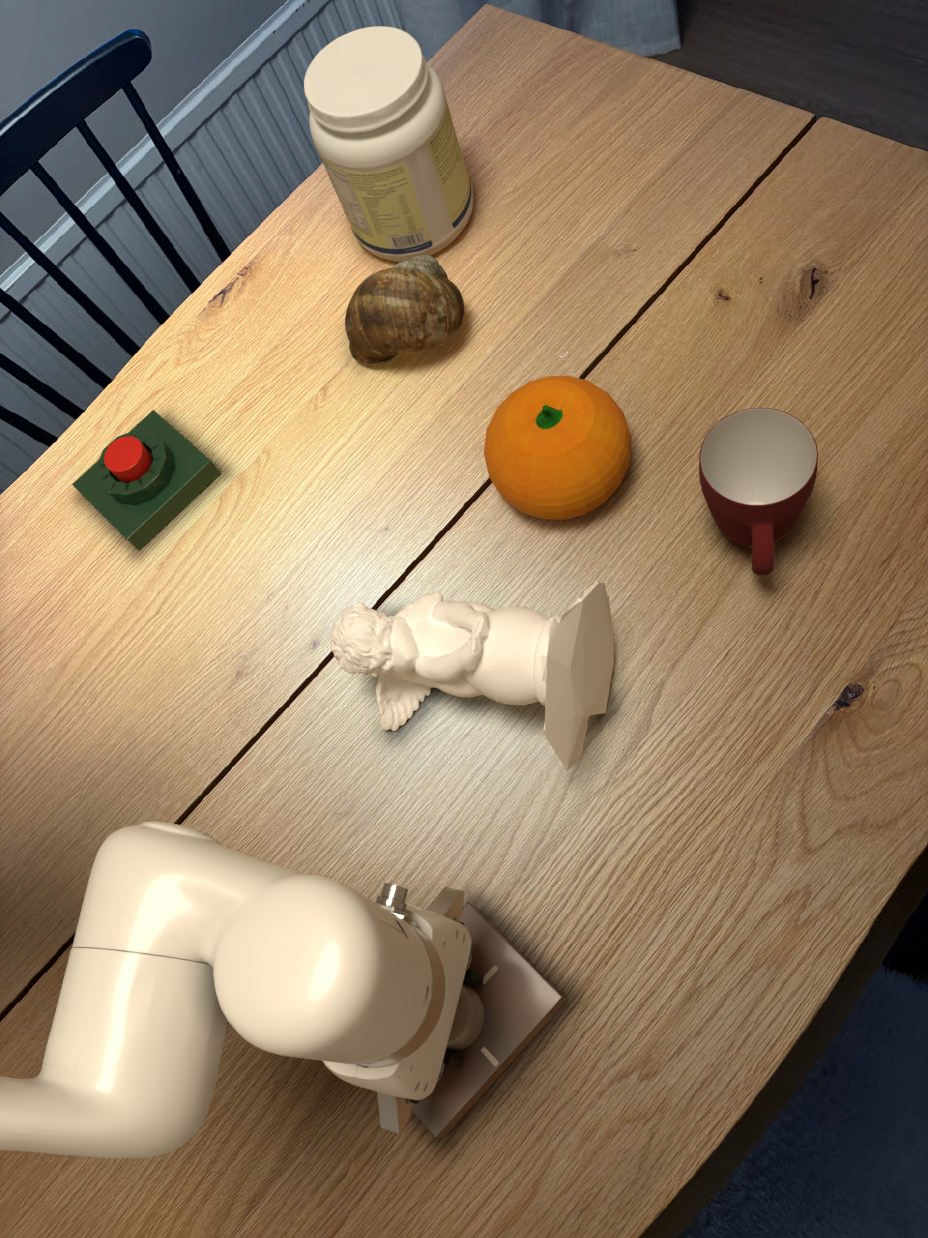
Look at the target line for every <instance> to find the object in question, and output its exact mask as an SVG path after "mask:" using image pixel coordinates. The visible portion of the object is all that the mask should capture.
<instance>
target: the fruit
mask: <svg viewBox="0 0 928 1238" xmlns="http://www.w3.org/2000/svg"><path fill="white" fill-rule="evenodd" d="M613 398H614V397H612V396H611V394H610V393H609V392H607V391H606V390H604V389H603V388H601V387H599V386H597V385H596V384H594V383H593V382H592V381H589V380H587V379H583V378H579V377H575V376H572V375H549V376H548V375H546V376H544V377H540V378H536V379H533V380H530V381H528V382H526V383H524V384H523V385H521V386H519V387H518V388H516V389H515V390H513V391H512V392H511V393H509V395H508V396H507V397H505V398H504V400H503V401H502V402H501V403H500V404H499V405H498V406H497V407H496V409H495V411H494V413H493V414H492V417H491V419H490V422H489V424H488V425H487V427H486V431H485V439H484V447H483V457H484V462H485V465H486V469H487V473H488V477H489V479H490V481H491V483H492V484H493V486H494V487H495V489H496V490H497V492H498V493H499V494H500V496H501V497H502V499H503V500H504V501H505V502H507V503H508V504H509V505H510V506H513V507H514V508H515V509H517V510H518V511H520V513H522V514H525V515H528V516H531V517H535V518H538V519H542V520H569V519H573V518H576V517H579V516H582V515H586V514H588V513H590V512H591V511H593V510H594V509H597V507H600V506H601V505H603V504H604V503H606V502H607V501H608V499H610V497H611V496H612V495H613V494H614V493H615V492H616V490H617V489H618V488H620V486H621V484H622V482H623V479H624V477H625V475H626V473H627V470H628V468H629V466H630V463H631V450H632V435H631V432H630V428H629V425H628V422H627V419H626V416H625V413H624V411H623V410H622V409H621V406H620V405H618V403H617V402H616V400H615V399H613Z"/></svg>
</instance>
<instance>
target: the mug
mask: <svg viewBox="0 0 928 1238" xmlns="http://www.w3.org/2000/svg"><path fill="white" fill-rule="evenodd" d="M817 445H818V444H817V442H816V440H815V437H814V435H813V434H812V432H811V430H810V429H809V427H807V425H805V423H804V422H802V421H801V420H800V419H798V418H797V417H796V416H794V415H792V414H790V413H788V412H785V411H783V410H780V409H775V408H770V407H751V408H750V407H749V408H745V409H740V410H738V411H735V412H732V413H730V414H728V415H726V416H724V417H723V418H721V419H720V420H719V421H718V422H716V423H715V424H714V425H712V427H711V428H710V429H709V430H708V431H707V433H706V435H705V437H704V438H703V441H702V442H701V446H700V449H699V454H698V475H699V476H698V477H699V484H700V489H701V492H702V495H703V498H704V500H705V503H706V505H707V507H708V510H709V512H710V515H711V517H712V520H713V521H714V523H715V526H717V528H718V529H719V530H720V532H721V533H722V534H723V535H724V536H726V537H727V538H728V539H729V540H731V541H733V542H735V543H737V544H739V545H741V546H746V547H749V548H751V571H752V573H753V574H754V575H756V576H763V577H764V576H769V575H771V574H772V573H773V572H774V569H775V543H776V542H778V541H779V540H781V539H783V538H785V536H787V535H788V534H789V532H791V530H793V529H794V527H795V526H796V524H797V522H798V521H799V519H800V517H801V515H802V513H803V511H804V509H805V508H806V505H807V504H808V502H809V500H810V497H811V495H812V493H813V491H814V488H815V485H816V480H817V474H818V463H819V452H818V451H819V450H818V446H817Z"/></svg>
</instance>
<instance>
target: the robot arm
mask: <svg viewBox="0 0 928 1238" xmlns="http://www.w3.org/2000/svg"><path fill="white" fill-rule="evenodd" d="M408 893H409V889H408V888H406V887H402V886H400V885H397V884H393V883H389V882H384V884H383V888H382V890H381V893H380V895H378V896H377V899H376V901H374V900H372V899H370V898H368V897H367V896H365V895H363V894H362V893H360V892H358V891H356V890H355V889H353V888H351V887H350V886H348V885H346V884H344V883H342V882H340V881H338V880H335V879H332V878H331V877H327V876H324V875H318V874H309V873H304V872H301V871H298V870H295V869H292V868H289V867H286V866H283V865H280V864H277V863H274V862H272V861H268V860H265V859H263V858H259V857H257V856H254V855H250V854H248V853H245V852H242V851H239V850H236V849H234V848H231V847H229V846H226V845H224V844H223V843H222V842H221V841H220V840H219V839H217V838H216V837H213V836H212V835H210V834H207V833H206V832H202V831H200V830H198V829H195V828H191V827H189V826H185V825H181V824H176V823H173V822H168V821H161V820H159V821H157V820H151V821H149V820H148V821H144V822H142V823H141V824H134V825H127V826H123V827H121V828H119V829H116V830H115V831H113V832H111V834H109V835H108V836H107V837H106V839H104V841H103V842H102V844H101V845H100V847H99V848H98V851H97V853H96V855H95V859H94V861H93V864H92V867H91V870H90V874H89V878H88V882H87V885H86V890H85V893H84V897H83V901H82V902H83V903H82V906H81V909H80V914H79V917H78V923H77V926H76V929H75V930H76V931H75V934H74V937H73V942H72V947H71V948H70V951H69V956H68V959H67V965H66V967H65V971H64V976H63V980H62V984H61V986H60V987H61V988H60V992H59V996H58V1000H57V1004H56V1009H55V1013H54V1016H53V1020H52V1023H51V1028H50V1032H49V1035H48V1040H47V1043H46V1047H45V1052H44V1055H43V1056H44V1057H43V1060H42V1065H41V1069H40V1072H39V1074H38V1075H37V1076H35V1077H31V1078H17V1077H11V1076H10V1077H9V1076H2V1075H0V1151H12V1152H26V1153H38V1154H50V1155H51V1154H52V1155H59V1156H73V1157H85V1158H97V1159H99V1158H100V1159H113V1160H114V1159H115V1160H116V1159H117V1160H119V1159H146V1158H152V1157H153V1158H154V1157H158V1156H162V1155H165V1154H166V1155H167V1154H169V1153H172V1152H174V1151H176V1150H178V1149H179V1148H181V1147H182V1146H184V1145H185V1144H187V1143H189V1141H191V1139H193V1138H194V1137H195V1136H196V1134H197V1133H198V1131H199V1130H200V1129H201V1127H202V1126H203V1124H204V1122H205V1120H206V1118H207V1116H208V1114H209V1112H210V1108H211V1105H212V1103H213V1099H214V1095H215V1090H216V1086H217V1080H218V1077H219V1071H220V1068H221V1067H220V1066H221V1061H222V1057H223V1051H224V1046H225V1040H226V1034H227V1030H228V1029H227V1028H228V1023H229V1024H230V1026H231V1027H232V1028H233V1029H234V1030H235V1032H236V1033H237V1034H238V1035H239V1036H241V1037H242V1038H243V1040H245V1041H247V1042H248V1043H249V1044H250V1045H252V1046H254V1047H256V1048H258V1049H260V1050H262V1051H264V1052H267V1053H270V1054H274V1055H278V1056H282V1057H288V1058H296V1059H305V1060H313V1061H314V1060H315V1061H321V1062H322V1063H323V1064H324V1065H325V1067H326V1068H327V1069H328V1070H329V1072H331V1073H332V1074H333V1075H334V1076H335V1077H337V1078H338V1079H340V1080H342V1081H344V1082H345V1083H348V1084H350V1085H352V1086H356V1087H359V1088H362V1089H366V1090H369V1091H373V1092H376V1097H377V1106H378V1107H377V1108H378V1117H379V1127H380V1129H381V1130H383V1131H387V1132H391V1133H393V1134H397V1135H402V1134H403V1132H404V1129H405V1127H406V1125H407V1123H408V1120H409V1118H410V1116H411V1114H412V1103H415V1104H418V1103H419V1101H420V1100H422V1099H424V1098H426V1097H427V1096H428V1095H430V1094H431V1093H432V1092H433V1090H434V1088H435V1085H436V1083H437V1081H439V1080H440V1079H441V1076H442V1075H444V1072H445V1068H446V1065H449V1066H455V1067H461V1068H462V1064H463V1060H464V1059H462V1055H459V1054H455V1053H452V1052H448V1051H446V1047H447V1044H448V1040H449V1036H450V1032H451V1028H452V1024H453V1020H454V1016H455V1012H456V1008H457V1004H458V1000H459V996H460V992H461V988H462V984H463V982H464V983H467V984H471V985H475V986H479V987H480V984H482V983H483V979H484V976H482V975H481V974H479V973H477V972H475V971H473V970H470V969H471V965H472V960H471V958H472V953H471V952H470V949H471V936H470V934H469V931H468V930H467V928H466V927H465V925H464V923H463V922H460V919H461V917H462V914H463V907H464V903H465V902H464V901H465V891H464V890H460V889H457V888H453V887H448V886H445V887H443V888H442V889H441V891H439V894H438V895H437V896H436V897H435V898H434V899H433V901H432V902H431V903H430V905H429V906H428V907H427V909H425V908H421V907H419V906H415V905H412V904H409V903H405V902H406V899H407V895H408Z"/></svg>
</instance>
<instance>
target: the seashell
mask: <svg viewBox="0 0 928 1238" xmlns="http://www.w3.org/2000/svg"><path fill="white" fill-rule="evenodd" d="M464 317H465V302H464V297H463V295H462V293H461V290H460V289H459V288H458V286H457V285H456V284H455V283H454V282H453V281H451V280H450V279H449V277H448V274H447V272H446V271H445V269H444V268H443V266H442V265H440V263H439V260H438V258H436V257H434V256H433V255H431V256H429V255H422V256H417V257H415V258H413V259H412V260H407V261H403V262H398V263H397V264H395V265H394V266H393V267H388V268H383V269H381V270H378V271H376V272H373V273H372V274H370V275H369V276H367V277H366V278H365V279H363V281H362V282H361V283H360V284H359V285H358V286H357V287H356V289H355V291H354V292H353V294H352V296H351V298H350V299H349V303H348V305H347V308H346V311H345V317H344V330H345V333H346V336H347V340H348V350H349V353H350V355H351V356H352V358H353V359H354V360H356V361H357V362H359V363H361V364H363V365H368V366H372V365H373V366H377V365H380V364H384V363H388V362H389V361H392V360H393V359H395V358H397V357H398V356H405V355H411V354H417V353H423V352H426V351H427V352H428V351H430V350H431V351H432V350H434V349H437V348H440V347H441V346H443V345H446V344H447V343H448V342H450V341H451V340H452V339H453V338H454V336H455V335H456V334H457V333H458V332H459V330H460V328H461V326H462V323H463V320H464Z"/></svg>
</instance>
